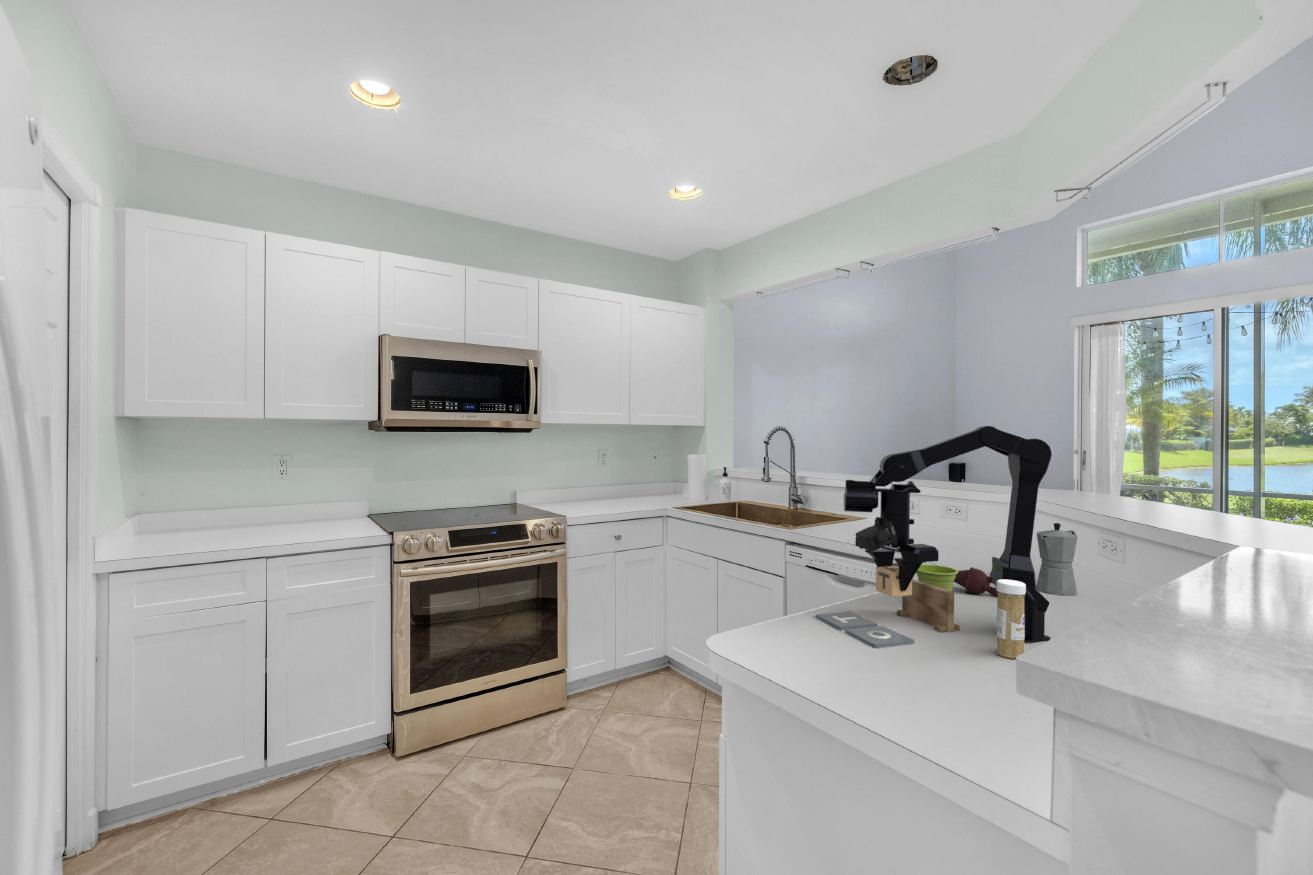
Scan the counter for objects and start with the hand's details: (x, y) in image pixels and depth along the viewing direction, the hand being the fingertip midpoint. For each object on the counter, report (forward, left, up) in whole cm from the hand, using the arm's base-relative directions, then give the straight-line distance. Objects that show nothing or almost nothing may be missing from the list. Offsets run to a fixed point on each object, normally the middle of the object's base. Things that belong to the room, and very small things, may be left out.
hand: (893, 587), depth 122 cm
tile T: (+5, +8, -8) cm, 13 cm away
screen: (0, -9, -8) cm, 12 cm away
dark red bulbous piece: (+16, -39, -8) cm, 43 cm away
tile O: (-6, +8, -8) cm, 13 cm away
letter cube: (0, 0, -1) cm, 1 cm away
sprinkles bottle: (-20, -9, -8) cm, 23 cm away
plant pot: (+10, -21, -8) cm, 24 cm away
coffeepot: (+12, -64, -8) cm, 65 cm away
